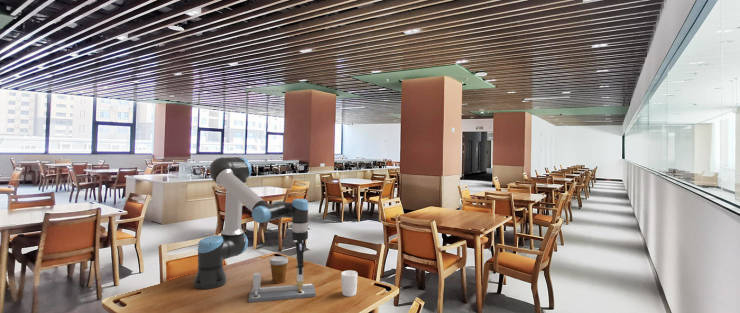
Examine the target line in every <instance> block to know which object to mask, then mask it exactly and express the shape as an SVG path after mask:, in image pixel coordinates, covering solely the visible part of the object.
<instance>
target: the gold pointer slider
mask: <svg viewBox="0 0 740 313" xmlns="http://www.w3.org/2000/svg"><path fill="white" fill-rule="evenodd" d="M296 266H298V259H297V258H296ZM303 284H304V280H303V281H297V279H296V283H295V285H297V286H299V292H301V286H303Z"/></svg>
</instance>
